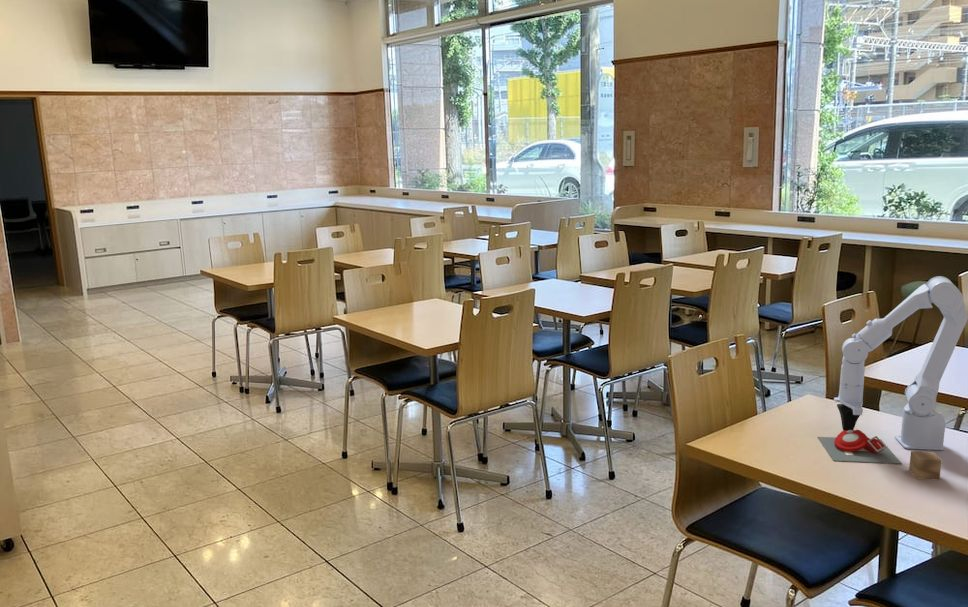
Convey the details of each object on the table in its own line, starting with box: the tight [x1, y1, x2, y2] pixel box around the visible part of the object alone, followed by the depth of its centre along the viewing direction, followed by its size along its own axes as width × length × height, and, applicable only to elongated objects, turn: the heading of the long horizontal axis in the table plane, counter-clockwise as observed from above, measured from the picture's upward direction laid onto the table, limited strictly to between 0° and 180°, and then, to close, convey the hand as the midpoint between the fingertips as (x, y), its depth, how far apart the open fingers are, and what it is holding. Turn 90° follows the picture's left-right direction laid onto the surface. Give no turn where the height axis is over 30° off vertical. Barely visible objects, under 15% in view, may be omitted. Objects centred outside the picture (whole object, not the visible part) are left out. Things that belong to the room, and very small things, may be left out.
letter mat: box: [817, 436, 902, 465], centre depth 207 cm, size 16×16×1 cm
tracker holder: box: [834, 429, 888, 453], centre depth 207 cm, size 12×4×10 cm
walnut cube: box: [908, 450, 942, 481], centre depth 191 cm, size 5×5×5 cm
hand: (847, 431), depth 216 cm, fingers closed
